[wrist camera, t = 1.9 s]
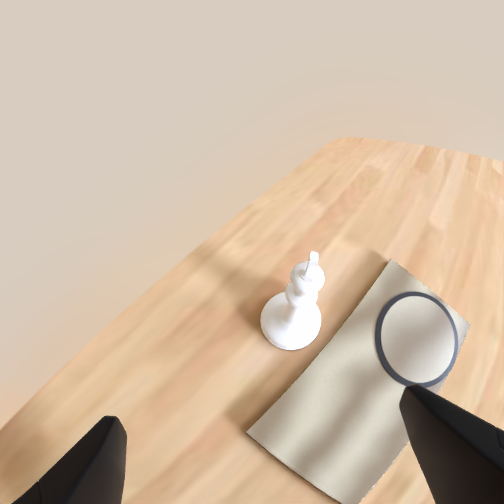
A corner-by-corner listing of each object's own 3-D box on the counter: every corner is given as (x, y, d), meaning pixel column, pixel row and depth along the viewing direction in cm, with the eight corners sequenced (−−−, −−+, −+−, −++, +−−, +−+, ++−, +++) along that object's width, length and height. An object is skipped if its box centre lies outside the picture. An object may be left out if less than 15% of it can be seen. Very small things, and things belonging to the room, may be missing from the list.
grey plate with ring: (467, 326, 23) (471, 324, 22) (350, 508, 15) (353, 510, 15) (388, 261, 27) (391, 257, 26) (245, 431, 19) (245, 432, 19)
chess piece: (253, 341, 23) (255, 288, 15) (269, 287, 26) (279, 212, 17) (313, 356, 22) (353, 313, 14) (325, 301, 25) (362, 233, 16)
